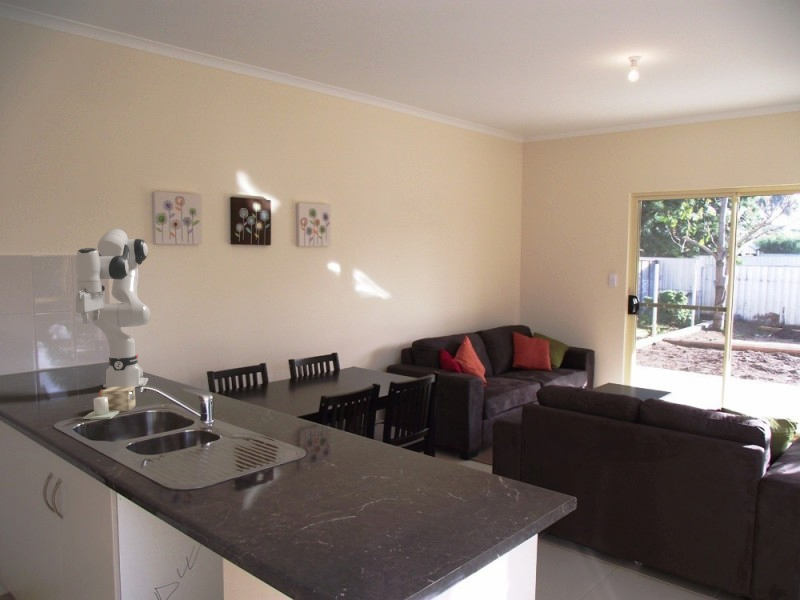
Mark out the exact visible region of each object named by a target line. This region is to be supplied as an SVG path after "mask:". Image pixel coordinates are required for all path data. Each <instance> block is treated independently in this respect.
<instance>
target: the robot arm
mask: <svg viewBox="0 0 800 600" xmlns="http://www.w3.org/2000/svg"><path fill="white" fill-rule="evenodd" d="M147 244H148V243H147V242H146V241H145V240H144V239H142V238H141V239H139V238H134V239H133V238H131V239H130V238H128V234H127V233H126V232H125V231H124V230H123V229H121V228H112V229H110V230H108V231H107V232H105V233H104V234H103V235H102V236H101V237H100V239H99V240H98V243H97V249H96V248H94V247H93V248H92V247H86V248H80V249H79V250H77V251H76V259H75V270H76V274H77V279H76V293H77V294H76V295H75V312H76V313H77V314H81V317H82V321H83V324H90V322H91V323H92V324H93V325H94V326H95V327H96V328H98V329H99V330H100V331H101V332H102V333H104V336H105V337H106V339H107V341H108V349H109V350H108V351H109V357H108V365H109V366H108V368H106V371H105V383H103V386H102V387H103V388H105V389H106V388H108V387H124V386H135V388H138V387H145V386H146V385H147V383H148V381H149V377H144V371H143V368H142V367H141V366H140V365H139V363H138V362H139V361H138V360H139V355H138V354H136V341H135V339H134V338H133V337H132V336H131V335H129V334H128V333H125V332H123V330H122V328H126V327H127V328H129V327H139V326H140V327H141V326H144V325H147V324H148V323H149V321H150V319H151V310H150V308H149V306H148V305H147V304H145V303H144V302H142V301H141V300H140V298H139V296H138V287H139V279H140V277H139V275H140V274H139V273H140V272H139V268H138V266H139V265H142V263H144V261H145V260H146V259H147V257H148V254H149V247H148V245H147ZM102 280H112V286H111V295H112V297H113V298H114V299H115V300H116V301H117V302H118V303H105V291H106V286H105V285H104V284H102ZM119 302H120V303H119ZM89 314H90V315H89ZM89 316H90V317H89Z"/></svg>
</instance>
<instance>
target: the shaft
mask: <svg viewBox="0 0 800 600" xmlns="http://www.w3.org/2000/svg"><path fill="white" fill-rule="evenodd" d="M103 390H104V389H100V390H99V391H98V395H97V397H102V393H101V391H103ZM132 399H133V393H132V392H130V400H132Z"/></svg>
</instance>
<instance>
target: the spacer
mask: <svg viewBox="0 0 800 600" xmlns="http://www.w3.org/2000/svg"><path fill="white" fill-rule="evenodd" d="M92 401H93V411H94V414H95V415H105V414H108V413H109V407H108V397H98V396H97V397H94V398H93V400H92Z"/></svg>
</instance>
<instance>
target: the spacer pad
mask: <svg viewBox="0 0 800 600" xmlns="http://www.w3.org/2000/svg"><path fill="white" fill-rule="evenodd" d="M120 413H121V411H120V410H109V413H108V414H105V415H95V414H94V410H93V411H91V412H89V413H88V414H86V415H85V416H82V420H83V419H90V421H91V420H111V419H112V418H113V417H115V416H117V415H118V414H120Z"/></svg>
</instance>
